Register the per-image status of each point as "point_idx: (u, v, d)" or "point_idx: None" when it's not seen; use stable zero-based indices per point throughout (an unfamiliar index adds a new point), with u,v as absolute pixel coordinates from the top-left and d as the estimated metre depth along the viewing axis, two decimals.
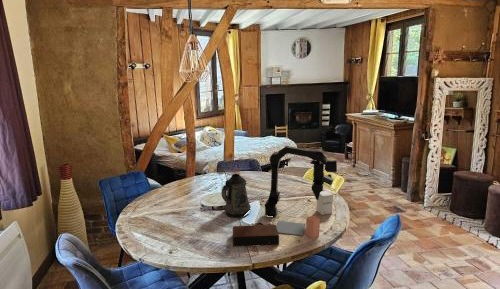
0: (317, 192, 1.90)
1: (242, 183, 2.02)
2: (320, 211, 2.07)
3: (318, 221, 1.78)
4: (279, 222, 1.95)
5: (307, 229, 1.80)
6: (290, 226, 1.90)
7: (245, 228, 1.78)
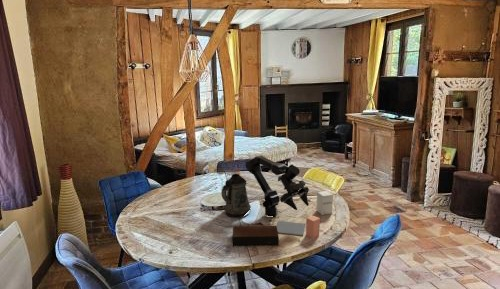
0: (290, 202, 1.82)
1: (242, 183, 2.02)
2: (320, 211, 2.07)
3: (318, 221, 1.78)
4: (279, 222, 1.95)
5: (307, 229, 1.80)
6: (290, 226, 1.90)
7: (246, 228, 1.78)
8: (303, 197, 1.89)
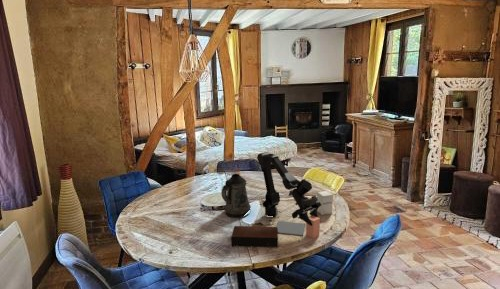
0: (305, 217, 1.78)
1: (242, 183, 2.02)
2: (320, 211, 2.07)
3: (318, 221, 1.78)
4: (279, 222, 1.95)
5: (307, 229, 1.80)
6: (290, 226, 1.90)
7: (246, 228, 1.78)
8: (313, 213, 1.82)
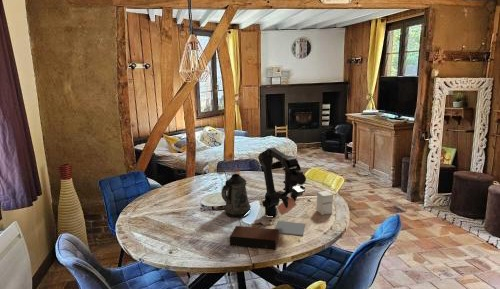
0: (285, 200, 1.84)
1: (242, 183, 2.02)
2: (320, 211, 2.07)
3: (293, 206, 1.87)
4: (279, 222, 1.95)
5: (280, 205, 1.89)
6: (290, 226, 1.90)
7: (246, 229, 1.77)
8: (293, 196, 1.88)
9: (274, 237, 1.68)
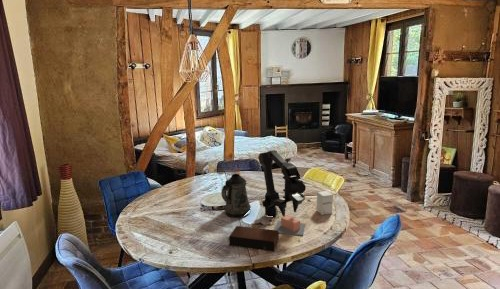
0: (282, 208, 1.84)
1: (242, 183, 2.02)
2: (320, 211, 2.07)
3: None
4: (279, 222, 1.95)
5: (285, 221, 1.88)
6: None
7: (246, 229, 1.77)
8: (295, 203, 1.90)
9: (273, 238, 1.67)
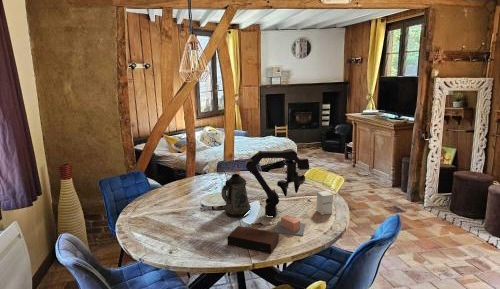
0: (284, 189, 2.00)
1: (242, 183, 2.02)
2: (320, 211, 2.07)
3: None
4: (279, 222, 1.95)
5: (285, 221, 1.88)
6: None
7: (246, 230, 1.76)
8: (296, 184, 2.07)
9: (271, 241, 1.64)
